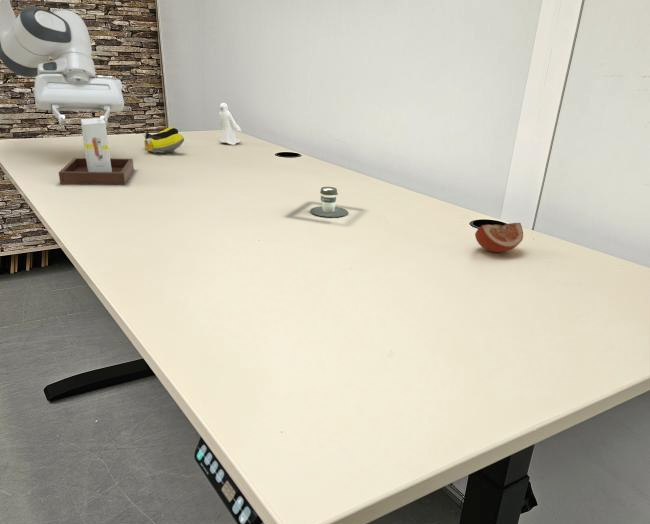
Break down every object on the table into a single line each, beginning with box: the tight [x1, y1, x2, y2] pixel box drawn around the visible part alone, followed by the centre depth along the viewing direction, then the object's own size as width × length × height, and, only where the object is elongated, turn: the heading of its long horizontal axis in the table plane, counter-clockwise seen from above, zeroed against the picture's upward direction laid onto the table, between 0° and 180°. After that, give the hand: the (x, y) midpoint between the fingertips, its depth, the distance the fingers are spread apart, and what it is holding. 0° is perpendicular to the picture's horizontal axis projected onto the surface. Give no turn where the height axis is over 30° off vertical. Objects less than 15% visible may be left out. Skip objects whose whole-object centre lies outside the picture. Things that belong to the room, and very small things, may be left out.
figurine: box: [218, 102, 243, 146], centre depth 181 cm, size 8×8×12 cm
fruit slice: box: [474, 222, 524, 253], centre depth 102 cm, size 8×7×5 cm
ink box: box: [80, 117, 112, 172], centre depth 134 cm, size 9×5×12 cm, turn 24°
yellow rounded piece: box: [142, 126, 185, 154], centre depth 167 cm, size 15×6×10 cm
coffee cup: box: [309, 186, 349, 218], centre depth 118 cm, size 12×12×5 cm
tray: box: [58, 157, 135, 186], centre depth 136 cm, size 14×16×3 cm
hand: (83, 124), depth 143 cm, fingers open, 8 cm apart
